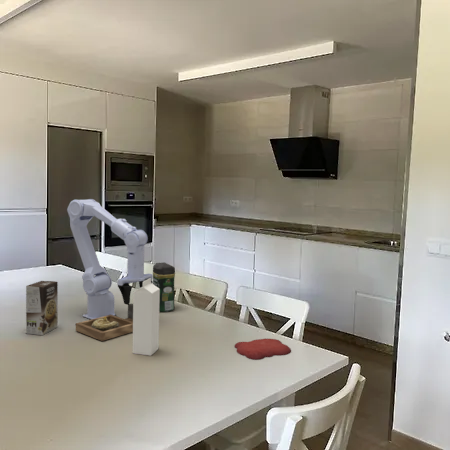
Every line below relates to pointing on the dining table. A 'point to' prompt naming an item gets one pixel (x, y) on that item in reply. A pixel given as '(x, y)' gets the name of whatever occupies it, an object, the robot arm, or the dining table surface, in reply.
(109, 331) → the pull frame
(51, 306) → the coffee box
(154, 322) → the milk
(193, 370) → the dining table surface
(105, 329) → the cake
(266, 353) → the red lobed slab
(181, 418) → the dining table surface
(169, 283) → the coffee jar
